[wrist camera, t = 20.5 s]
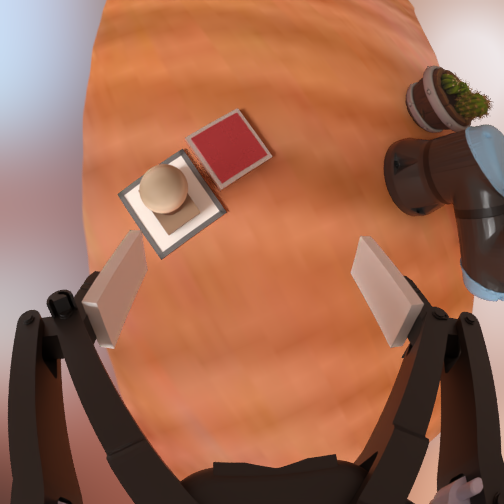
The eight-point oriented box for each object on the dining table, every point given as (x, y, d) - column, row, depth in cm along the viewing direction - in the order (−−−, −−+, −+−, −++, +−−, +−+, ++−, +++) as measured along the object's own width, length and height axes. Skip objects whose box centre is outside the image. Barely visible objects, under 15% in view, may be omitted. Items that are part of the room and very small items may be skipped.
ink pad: (270, 158, 40) (273, 156, 38) (219, 191, 38) (221, 189, 37) (236, 111, 38) (238, 107, 37) (184, 140, 37) (184, 137, 35)
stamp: (199, 213, 37) (208, 200, 23) (169, 235, 37) (160, 235, 22) (171, 172, 36) (164, 136, 22) (141, 193, 35) (117, 169, 21)
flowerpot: (389, 74, 45) (452, 36, 25) (432, 92, 48) (490, 66, 29) (403, 134, 46) (480, 106, 27) (445, 145, 49) (511, 129, 30)
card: (226, 212, 39) (226, 212, 38) (161, 259, 37) (161, 259, 36) (182, 149, 37) (182, 148, 36) (118, 194, 35) (117, 194, 34)
